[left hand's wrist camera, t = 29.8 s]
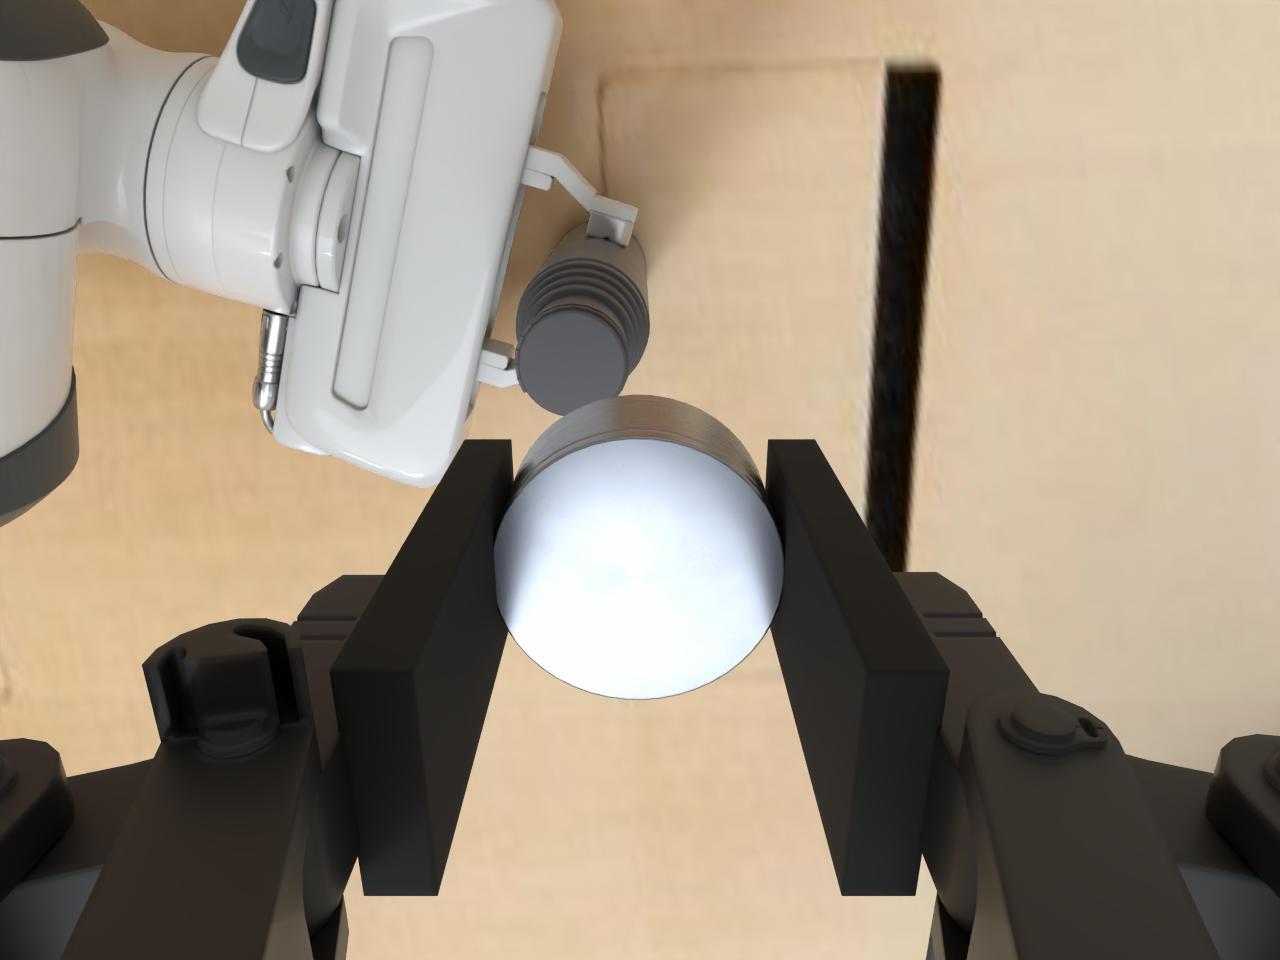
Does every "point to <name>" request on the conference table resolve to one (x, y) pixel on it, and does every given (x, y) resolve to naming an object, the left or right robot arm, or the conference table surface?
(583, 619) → the cap
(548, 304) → the bottle
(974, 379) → the conference table surface
